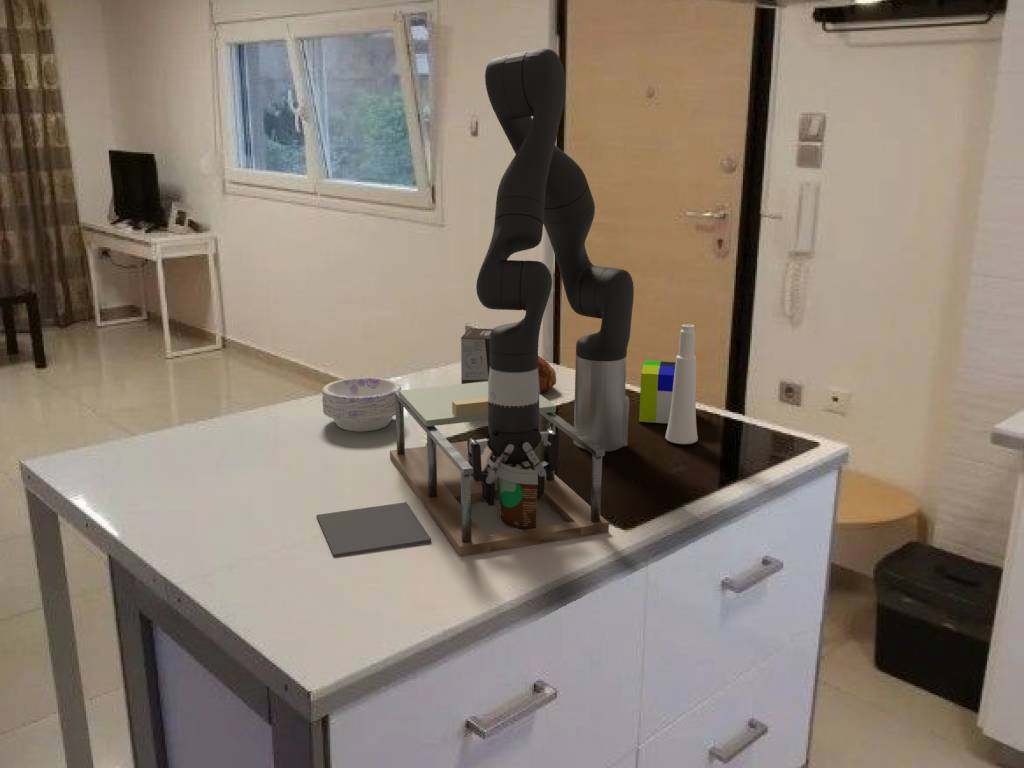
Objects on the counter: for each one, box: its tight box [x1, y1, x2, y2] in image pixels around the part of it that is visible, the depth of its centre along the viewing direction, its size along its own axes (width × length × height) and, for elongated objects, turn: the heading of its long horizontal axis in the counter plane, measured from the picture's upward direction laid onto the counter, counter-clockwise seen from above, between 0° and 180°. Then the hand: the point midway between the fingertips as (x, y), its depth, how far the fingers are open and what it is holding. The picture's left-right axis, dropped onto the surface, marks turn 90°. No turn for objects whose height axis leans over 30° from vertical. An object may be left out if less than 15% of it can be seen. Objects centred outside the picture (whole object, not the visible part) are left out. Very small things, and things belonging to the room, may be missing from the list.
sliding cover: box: [399, 381, 557, 427], centre depth 155 cm, size 22×17×3 cm
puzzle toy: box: [638, 360, 676, 425], centre depth 190 cm, size 10×10×10 cm
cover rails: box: [394, 391, 606, 543], centre depth 151 cm, size 21×39×11 cm, turn 21°
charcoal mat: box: [316, 501, 432, 558], centre depth 139 cm, size 14×14×1 cm
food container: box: [495, 457, 538, 531], centre depth 142 cm, size 12×6×10 cm, turn 5°
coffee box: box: [460, 328, 494, 384], centre depth 193 cm, size 9×6×16 cm
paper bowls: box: [321, 377, 402, 433], centre depth 184 cm, size 15×15×8 cm
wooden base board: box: [389, 440, 610, 558], centre depth 153 cm, size 23×40×2 cm, turn 21°
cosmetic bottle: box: [664, 323, 699, 445], centre depth 175 cm, size 6×6×22 cm
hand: (513, 500), depth 143 cm, fingers open, 7 cm apart
